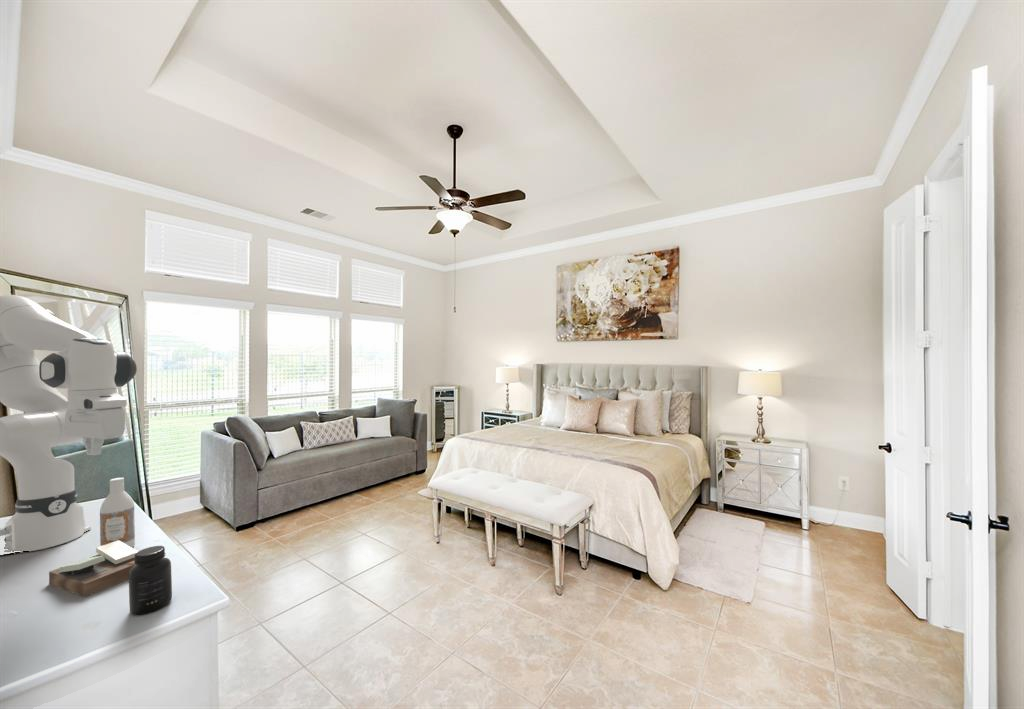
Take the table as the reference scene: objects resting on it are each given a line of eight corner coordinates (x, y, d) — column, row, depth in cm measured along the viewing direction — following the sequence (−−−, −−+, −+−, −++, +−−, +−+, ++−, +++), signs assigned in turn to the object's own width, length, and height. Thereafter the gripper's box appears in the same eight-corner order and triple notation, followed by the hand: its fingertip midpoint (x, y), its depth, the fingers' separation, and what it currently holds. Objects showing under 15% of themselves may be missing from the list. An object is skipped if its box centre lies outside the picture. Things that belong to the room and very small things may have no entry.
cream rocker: (95, 552, 102) (96, 547, 102) (118, 544, 106) (118, 540, 106) (115, 564, 99) (116, 559, 99) (137, 556, 103) (138, 551, 103)
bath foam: (97, 558, 110) (95, 484, 110) (104, 548, 115) (103, 478, 116) (131, 551, 114) (130, 479, 114) (137, 542, 119) (136, 473, 120)
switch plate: (49, 584, 97) (49, 567, 97) (113, 560, 108) (113, 545, 108) (84, 597, 91) (84, 579, 91) (149, 570, 102) (149, 554, 102)
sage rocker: (60, 572, 96) (59, 567, 96) (85, 563, 100) (84, 558, 100) (79, 569, 93) (78, 564, 93) (104, 560, 97) (103, 555, 97)
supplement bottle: (128, 607, 87) (127, 550, 87) (170, 593, 92) (169, 540, 92) (129, 621, 82) (128, 561, 82) (173, 606, 87) (172, 549, 87)
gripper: (55, 401, 105) (55, 455, 105) (98, 402, 98) (99, 460, 98) (87, 399, 111) (88, 449, 111) (130, 399, 104) (131, 454, 104)
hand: (93, 454), depth 104 cm, fingers closed
